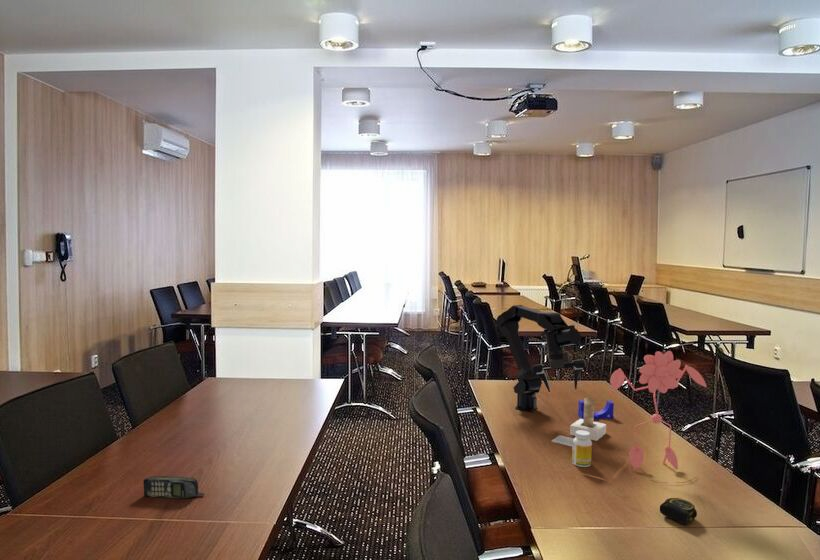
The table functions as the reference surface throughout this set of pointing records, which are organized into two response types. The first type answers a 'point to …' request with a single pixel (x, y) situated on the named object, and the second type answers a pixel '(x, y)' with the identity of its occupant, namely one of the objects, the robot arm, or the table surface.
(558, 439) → the mat
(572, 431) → the block
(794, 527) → the table surface
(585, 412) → the peg
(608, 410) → the cable clip
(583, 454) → the supplement bottle
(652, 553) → the table surface
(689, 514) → the tape measure
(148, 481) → the mobile phone
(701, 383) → the figurine
